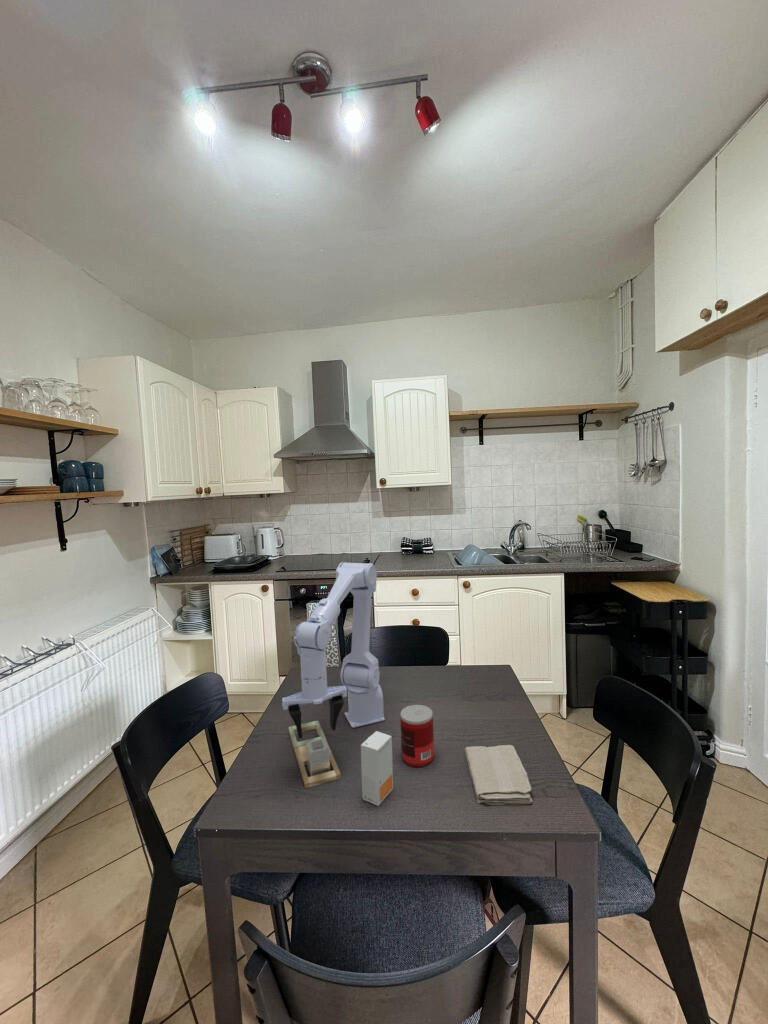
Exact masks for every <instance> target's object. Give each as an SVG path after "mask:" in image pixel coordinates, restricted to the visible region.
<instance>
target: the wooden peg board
mask: <svg viewBox="0 0 768 1024" xmlns="http://www.w3.org/2000/svg"><path fill="white" fill-rule="evenodd" d="M301 728H302V733H306V732H310V731H314V730H316V732H317V735H318V737H317V736H316V737H313V738H310V739H309V738H308V739H305V740H300V741H298V740H297V737H296V735H298V733H297V728H296V725H291V726H288V733H289V737H290V741H291V744H292V748H293V750H294V754H295V756H296V761H297V763H298V764H297V765H298V767H299V771H300V775H301V779H302V782H303V785H304V789H309V788H313V787H315V786H316V787H317V786H319V785H323V784H326V783H330V782H334V781H337V780H340V779H342V774H341V771H340V769H339V767H338V764H337V762H336V759H335V757H334V755H333V753H332V750H331V748H330V747H329V753H330V768H331V769H332V770H330V771H329V772H325V773H322V774H318V775H314V776H311V777H310V776H308V773H307V769H306V767H305V766H307V755H306V742H309V741H313V740H318V739H322V738H325V739H326V742H327V744H328V745H329V743H328V741H327V738H326V736H325V733H324V731H323V728H322V727H321V724H320V722H319V720H313V721H310V722H309V721H308V722H306V723H301Z"/></svg>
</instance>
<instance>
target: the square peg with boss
mask: <svg viewBox="0 0 768 1024" xmlns="http://www.w3.org/2000/svg"><path fill="white" fill-rule="evenodd" d="M325 738H326V737H325ZM325 738H322V739H318V740H313V741H309V742H306V755H307V765H306V767H307V770H308V774H309V777H311V776H314V775H318V774H322V773H325V772H329V771H331V765H330V753H329V748H330V746H329V743H328V741H327V738H326V739H325ZM326 741H327V742H326ZM327 743H328V744H327Z"/></svg>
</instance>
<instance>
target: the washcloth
mask: <svg viewBox="0 0 768 1024" xmlns="http://www.w3.org/2000/svg"><path fill="white" fill-rule="evenodd" d="M463 753H464V754H465V759H466V763H467V765H468V766H467V767H468V770H469V774H470V777H471V780H472V784H473V788H474V792H475V793H474V794H475V797H476V801H477V804H485V805H491V806H492V805H493V806H501V805H503V806H504V805H529V804H533V798H532V795H531V793H530V792H532V785H531V783H530V779H529V777H528V773H527V771H526V769H525V767H524V766H523V763H522V760H521V758H520V756H519V755H518V754H517V750H516V749H515V746H514V745H512V744H506V745H504V744H501V745H496V746H488V747H487V746H485V745H484V746H483V745H482V746H481V745H480V746H479V745H478V746H476V745H475V746H466V747H464V751H463Z"/></svg>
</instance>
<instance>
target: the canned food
mask: <svg viewBox="0 0 768 1024" xmlns="http://www.w3.org/2000/svg"><path fill="white" fill-rule="evenodd" d="M399 719H400V721H399V722H400V742H401V745H400V746H401V757H402V759H403V762H405V764H406V765H408V766H411V767H416V768H417V767H418V768H419V767H425V766H427V765H429V764H430V763H432V761H433V759H434V756H435V755H434V754H435V747H434V746H435V744H434V743H435V741H434V739H435V736H434V714H433V710H432V709H431V708H430V707H428V706H427V705H422V704H413V705H408V706H405V707H404V708H402V709H401V711H400V718H399Z"/></svg>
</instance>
